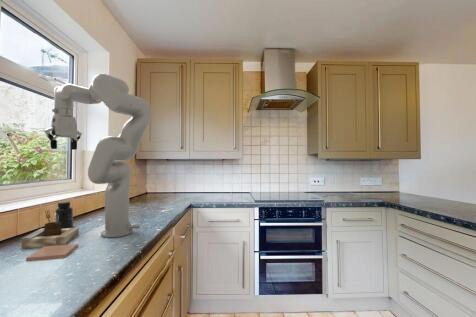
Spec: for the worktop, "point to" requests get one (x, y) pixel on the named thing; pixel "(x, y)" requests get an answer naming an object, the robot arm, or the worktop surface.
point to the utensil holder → (52, 227)
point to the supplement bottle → (64, 215)
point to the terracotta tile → (52, 252)
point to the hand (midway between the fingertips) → (64, 149)
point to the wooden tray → (49, 238)
